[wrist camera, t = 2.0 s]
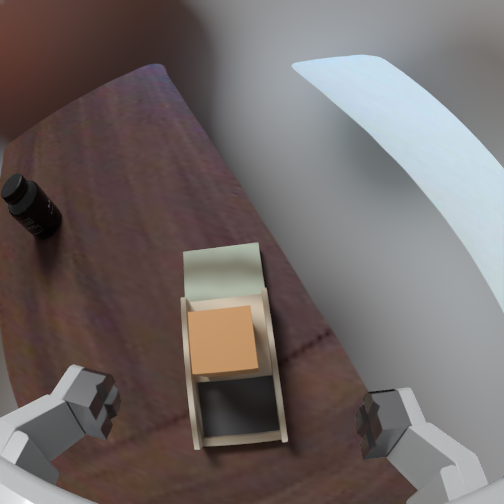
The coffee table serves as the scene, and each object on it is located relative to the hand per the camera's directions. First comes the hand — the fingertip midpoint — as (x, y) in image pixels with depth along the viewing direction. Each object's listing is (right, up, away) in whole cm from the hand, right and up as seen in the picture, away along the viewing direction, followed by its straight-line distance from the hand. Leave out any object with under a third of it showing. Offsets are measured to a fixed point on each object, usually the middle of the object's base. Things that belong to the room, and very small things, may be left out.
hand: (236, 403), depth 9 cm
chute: (-2, -7, +27) cm, 28 cm away
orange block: (-2, -7, +26) cm, 27 cm away
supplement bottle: (-36, +10, +37) cm, 52 cm away
